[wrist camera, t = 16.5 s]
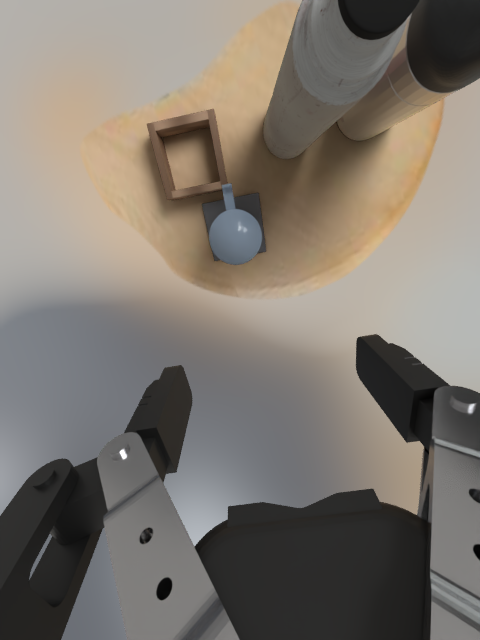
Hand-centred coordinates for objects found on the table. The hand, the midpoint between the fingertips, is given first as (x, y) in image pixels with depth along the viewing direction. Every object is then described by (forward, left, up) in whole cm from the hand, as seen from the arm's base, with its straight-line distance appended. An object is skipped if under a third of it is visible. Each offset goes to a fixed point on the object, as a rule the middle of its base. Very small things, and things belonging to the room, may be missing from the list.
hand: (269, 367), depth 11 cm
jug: (+1, -5, -38) cm, 38 cm away
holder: (+6, -15, -38) cm, 42 cm away
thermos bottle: (-10, -17, -38) cm, 43 cm away
